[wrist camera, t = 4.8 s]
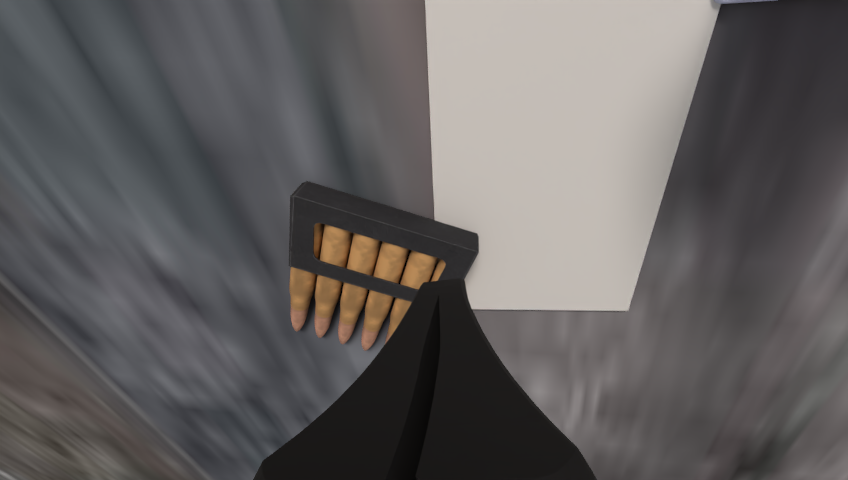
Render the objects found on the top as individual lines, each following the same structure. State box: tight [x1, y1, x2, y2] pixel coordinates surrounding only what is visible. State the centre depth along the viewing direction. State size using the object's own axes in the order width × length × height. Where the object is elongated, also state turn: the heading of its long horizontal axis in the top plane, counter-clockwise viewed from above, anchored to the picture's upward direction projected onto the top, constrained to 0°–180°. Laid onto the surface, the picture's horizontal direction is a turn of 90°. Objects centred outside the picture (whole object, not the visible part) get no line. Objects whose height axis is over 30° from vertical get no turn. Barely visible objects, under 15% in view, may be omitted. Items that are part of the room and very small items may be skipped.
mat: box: [425, 0, 721, 311], centre depth 20 cm, size 12×18×1 cm
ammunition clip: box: [289, 181, 479, 351], centre depth 24 cm, size 11×2×12 cm
